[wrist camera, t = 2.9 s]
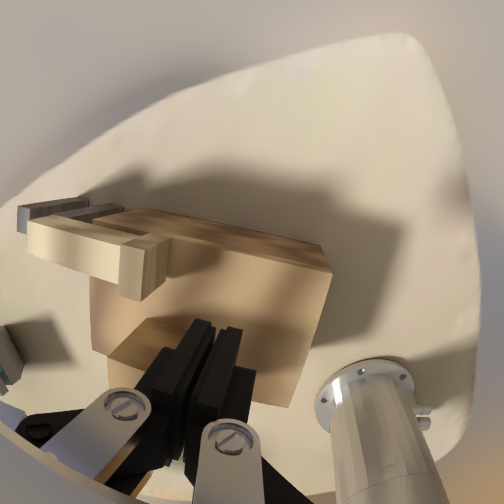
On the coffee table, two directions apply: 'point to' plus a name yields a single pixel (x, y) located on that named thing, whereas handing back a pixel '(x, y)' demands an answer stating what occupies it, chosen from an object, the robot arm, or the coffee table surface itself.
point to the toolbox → (176, 228)
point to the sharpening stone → (8, 361)
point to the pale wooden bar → (102, 253)
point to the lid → (214, 311)
